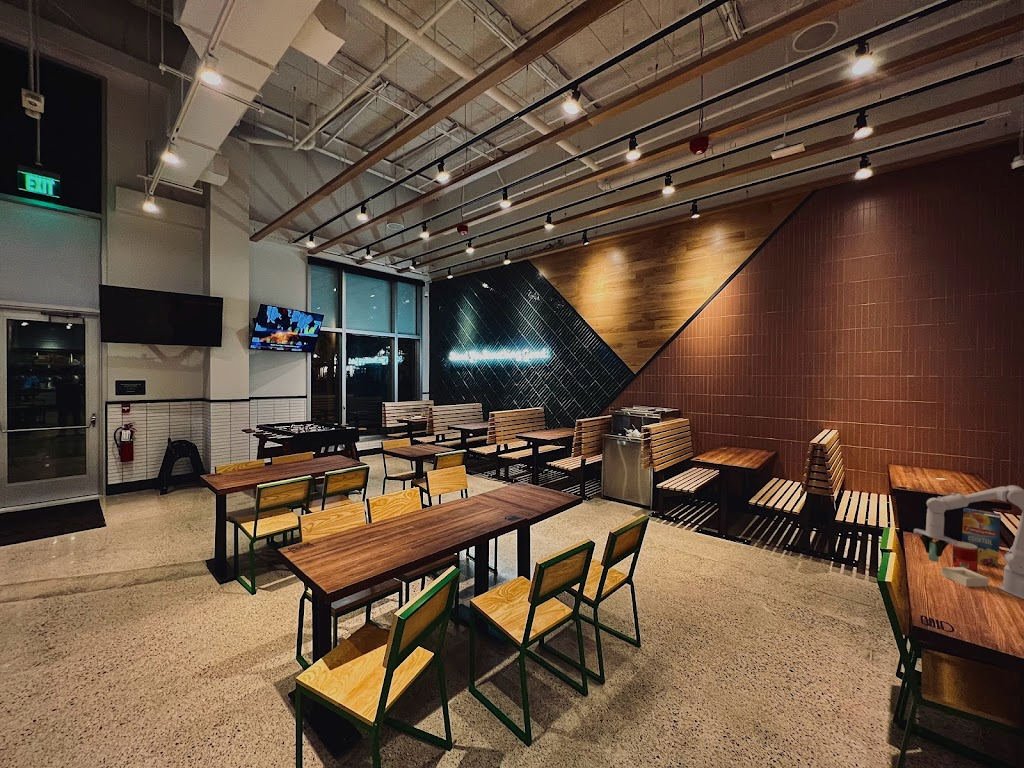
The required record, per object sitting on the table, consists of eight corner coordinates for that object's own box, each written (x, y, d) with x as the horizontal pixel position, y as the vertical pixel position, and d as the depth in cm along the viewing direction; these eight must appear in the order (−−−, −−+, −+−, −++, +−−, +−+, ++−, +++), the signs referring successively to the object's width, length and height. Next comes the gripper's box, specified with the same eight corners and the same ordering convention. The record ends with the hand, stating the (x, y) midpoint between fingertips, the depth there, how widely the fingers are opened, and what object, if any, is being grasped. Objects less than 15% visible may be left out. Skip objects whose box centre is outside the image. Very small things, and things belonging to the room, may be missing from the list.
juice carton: (960, 559, 206) (963, 511, 204) (960, 554, 211) (963, 507, 209) (997, 568, 197) (1000, 517, 196) (997, 563, 202) (1000, 514, 201)
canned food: (982, 571, 193) (982, 548, 192) (962, 571, 194) (962, 548, 193) (967, 564, 200) (967, 541, 200) (947, 563, 202) (948, 540, 201)
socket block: (988, 586, 181) (988, 578, 181) (965, 586, 181) (966, 578, 180) (962, 574, 191) (962, 567, 191) (941, 575, 191) (941, 567, 190)
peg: (940, 561, 191) (941, 544, 190) (933, 561, 190) (934, 544, 190) (933, 558, 194) (934, 541, 193) (926, 558, 194) (927, 541, 193)
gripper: (961, 529, 186) (960, 559, 186) (920, 518, 199) (919, 546, 200) (951, 531, 183) (950, 562, 184) (911, 520, 197) (910, 548, 198)
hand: (933, 554), depth 192 cm, fingers closed on peg, 3 cm apart
